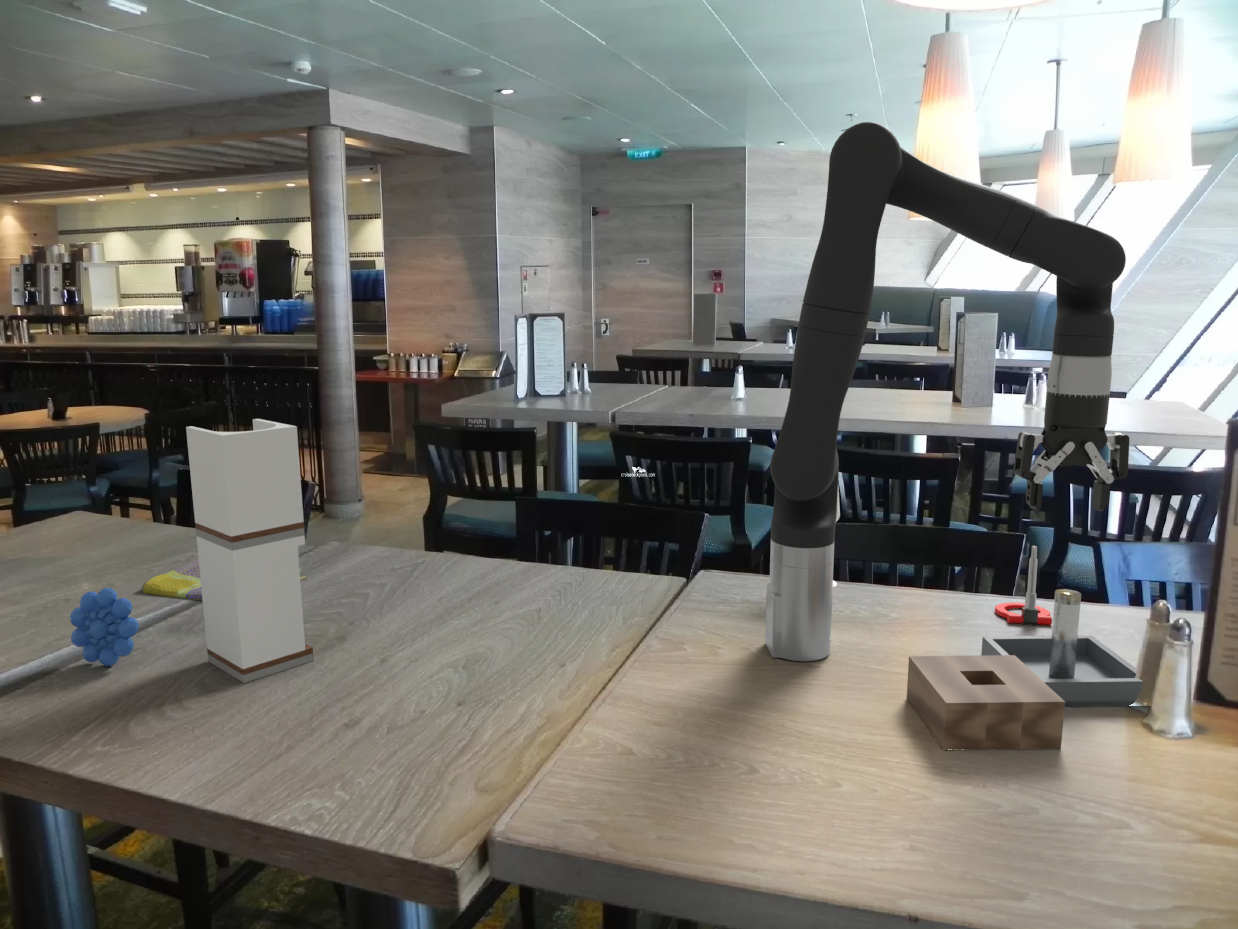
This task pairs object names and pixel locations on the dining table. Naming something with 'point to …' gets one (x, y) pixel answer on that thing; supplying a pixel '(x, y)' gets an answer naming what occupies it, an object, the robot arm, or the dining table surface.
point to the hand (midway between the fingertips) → (1066, 509)
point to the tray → (1096, 670)
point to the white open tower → (250, 547)
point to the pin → (1064, 634)
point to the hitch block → (984, 703)
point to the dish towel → (180, 582)
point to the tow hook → (1027, 601)
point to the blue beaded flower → (103, 626)
